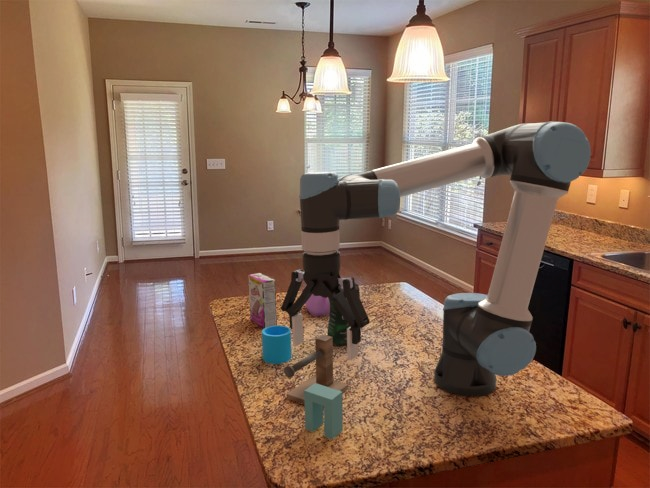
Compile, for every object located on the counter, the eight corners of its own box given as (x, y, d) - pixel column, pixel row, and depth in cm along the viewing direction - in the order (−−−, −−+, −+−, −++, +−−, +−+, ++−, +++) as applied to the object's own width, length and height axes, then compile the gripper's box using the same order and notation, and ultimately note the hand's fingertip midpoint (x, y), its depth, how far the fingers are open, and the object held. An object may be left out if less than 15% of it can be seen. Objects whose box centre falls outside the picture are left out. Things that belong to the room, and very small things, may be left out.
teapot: (300, 304, 189) (300, 278, 187) (327, 301, 193) (326, 275, 191) (315, 320, 173) (314, 291, 171) (343, 316, 176) (343, 288, 174)
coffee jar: (334, 348, 149) (334, 288, 145) (324, 339, 156) (323, 281, 152) (363, 343, 153) (364, 284, 149) (352, 334, 160) (352, 277, 156)
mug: (293, 362, 140) (292, 335, 138) (263, 365, 139) (262, 337, 137) (288, 345, 152) (287, 320, 150) (261, 347, 150) (260, 322, 149)
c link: (342, 430, 107) (342, 391, 105) (332, 439, 104) (331, 399, 102) (315, 420, 111) (315, 383, 109) (305, 429, 108) (304, 390, 106)
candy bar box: (249, 320, 173) (247, 274, 170) (262, 317, 176) (260, 272, 172) (264, 330, 164) (262, 281, 161) (277, 326, 167) (276, 279, 163)
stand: (348, 388, 125) (347, 337, 122) (307, 420, 111) (306, 363, 108) (315, 378, 130) (314, 329, 128) (272, 407, 117) (270, 353, 114)
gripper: (386, 253, 96) (386, 356, 100) (283, 241, 109) (288, 332, 114) (366, 261, 89) (368, 371, 94) (261, 248, 103) (266, 344, 108)
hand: (324, 350), depth 104 cm, fingers open, 13 cm apart
